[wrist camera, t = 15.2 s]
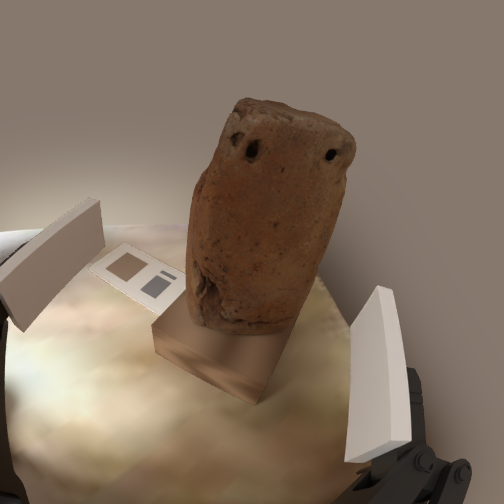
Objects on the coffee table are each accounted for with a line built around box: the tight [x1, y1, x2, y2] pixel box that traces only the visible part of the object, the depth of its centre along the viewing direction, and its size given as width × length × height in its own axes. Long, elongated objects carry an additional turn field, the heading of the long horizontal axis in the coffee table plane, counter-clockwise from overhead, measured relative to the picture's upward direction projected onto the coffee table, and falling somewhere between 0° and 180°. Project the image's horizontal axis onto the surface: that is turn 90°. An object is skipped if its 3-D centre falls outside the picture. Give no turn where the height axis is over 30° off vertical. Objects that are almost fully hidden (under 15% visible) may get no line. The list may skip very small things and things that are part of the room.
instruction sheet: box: [88, 242, 186, 316], centre depth 36 cm, size 15×8×1 cm, turn 66°
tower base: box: [151, 289, 302, 405], centre depth 30 cm, size 12×13×5 cm
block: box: [186, 98, 356, 335], centre depth 22 cm, size 11×8×20 cm
